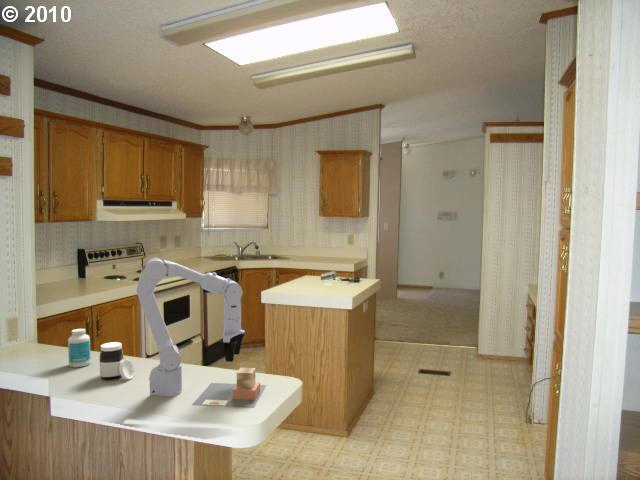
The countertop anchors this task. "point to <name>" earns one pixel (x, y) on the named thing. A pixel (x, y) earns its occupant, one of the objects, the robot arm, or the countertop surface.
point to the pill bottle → (79, 348)
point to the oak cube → (245, 378)
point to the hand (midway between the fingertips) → (232, 357)
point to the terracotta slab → (246, 392)
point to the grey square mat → (224, 396)
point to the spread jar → (114, 363)
